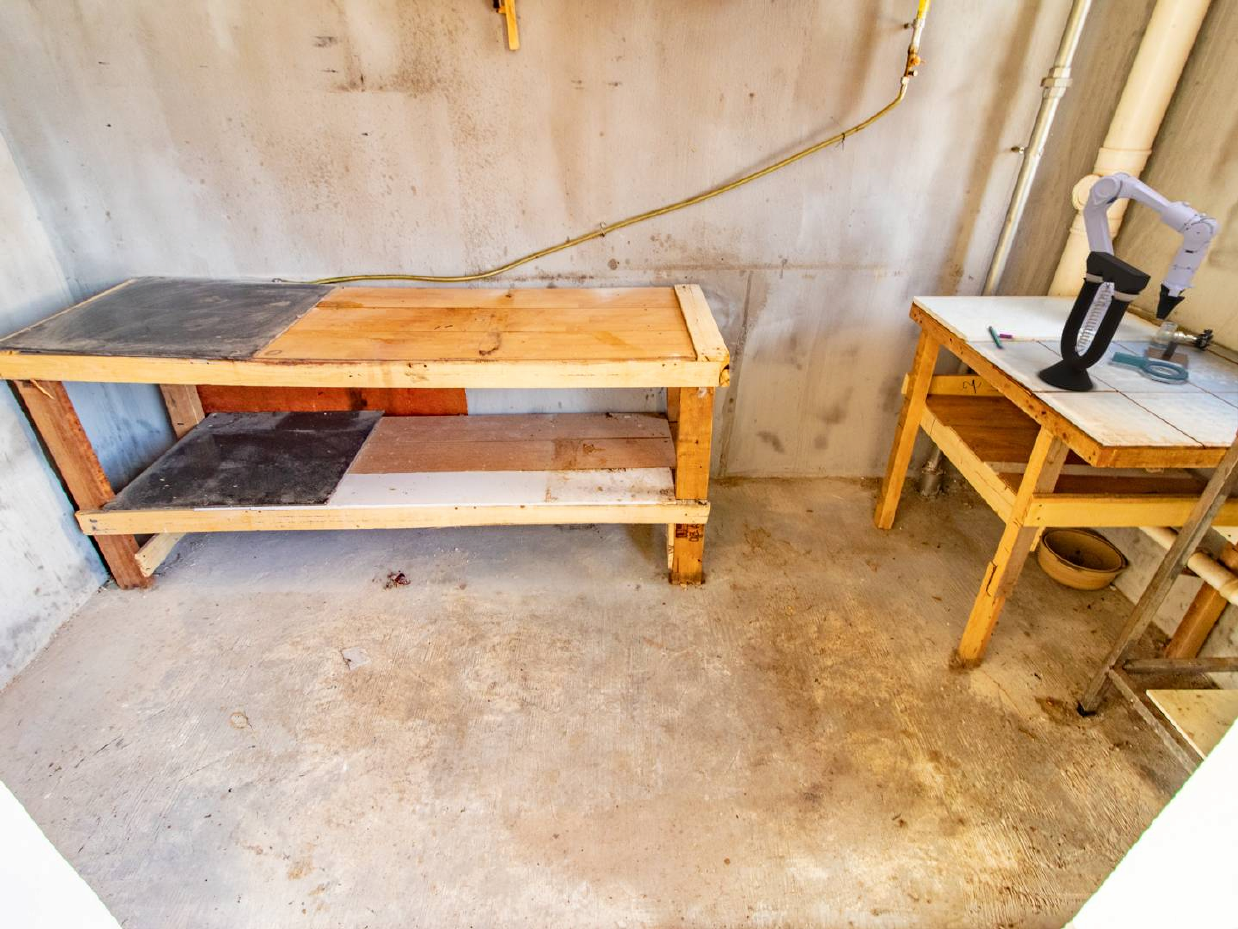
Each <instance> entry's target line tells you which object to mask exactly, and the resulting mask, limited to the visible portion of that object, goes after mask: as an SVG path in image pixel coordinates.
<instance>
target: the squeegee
mask: <svg viewBox="0 0 1238 929" xmlns="http://www.w3.org/2000/svg"><path fill="white" fill-rule="evenodd" d="M988 328H989V331H990V333H991V335H992V337H993V339H994V340H995V342H996V344H997V346H998V348H999V349H1002V348H1003V345H1002V343H1001V340H1000V339H999V338H1009V339H1012V338H1013V334H1007V333H1006V334H1005V333H999V337H998V333H997V332H995V330H994V328H993V326H991V325H989V327H988Z"/></svg>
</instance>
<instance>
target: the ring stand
mask: <svg viewBox="0 0 1238 929" xmlns="http://www.w3.org/2000/svg"><path fill="white" fill-rule="evenodd" d="M1179 345H1180V342H1179V341H1177V340H1170V342H1169V344H1167V345H1166V348H1165V349H1162V348H1157V347H1152V346H1148V348H1147V353H1146V358H1150V359H1155V360H1158V361H1162V362H1167V363H1171V364H1172V363H1173V364H1177V365H1181V366H1182V365H1183V366H1186V367H1187V366H1188V354H1186V353H1181V352H1176V350H1177V348H1178V347H1179Z"/></svg>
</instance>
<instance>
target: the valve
mask: <svg viewBox="0 0 1238 929" xmlns="http://www.w3.org/2000/svg"><path fill="white" fill-rule="evenodd" d="M1178 328H1179V324H1177V323H1175V322H1171V321H1163V322H1162V323H1161V325H1160V327H1159V329H1158V330H1157V331H1156V333H1155V335H1154V337H1155V338H1154V339H1153V342H1155V343H1157V344H1160V345H1166V346H1168V344H1169V342H1170V340H1177V341H1179V343H1180V342H1181V341H1184V342H1187V343H1191V342H1192V341H1193V343H1194V346H1195V348H1197V349H1200V351H1201V352H1206V351H1207V347H1210V346H1211V344H1212V343H1211V340H1212V339H1213V338H1214V334H1213V333H1214V330H1213V329H1210V328H1208V329H1204V330H1203V333H1199V334H1198V335H1196V336H1194V335H1191V334H1186V335H1185V334H1184V332H1183V331H1177V329H1178Z"/></svg>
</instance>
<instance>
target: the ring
mask: <svg viewBox="0 0 1238 929" xmlns="http://www.w3.org/2000/svg"><path fill="white" fill-rule="evenodd" d="M1147 359H1148V357H1143V356H1137V355H1132V354H1129V353H1125V352H1124V353H1123V352H1121V351H1115V352H1114V354H1113V356H1112V358H1111V362H1114V363H1119V364H1124V365H1128V366H1133V367H1136V368H1140V370H1142V371H1143V372H1145V373H1146V374H1149V375H1152V376H1154V377H1157V378H1161V379H1166V380H1170V381H1171V380H1172V381H1183V380H1187V379H1188V378H1189V375H1190V373H1189V372H1188V371H1187V370H1186V369H1184V368H1182V367H1181V366H1177V365H1175V364H1172V363H1170V362H1165V361H1160V360H1147ZM1153 366H1154V367H1162V368H1167V369H1170V370H1173V371H1176V373H1178V374H1167V373H1162V372H1159V371H1157V370H1154V369H1152V368H1151V367H1153ZM1148 378H1149V377H1148ZM1149 379H1150V380H1151V381H1155V382H1160V383H1163V384H1169V385H1173V383H1171V382H1167V381H1162V380H1158V379H1155V378H1149Z"/></svg>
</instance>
